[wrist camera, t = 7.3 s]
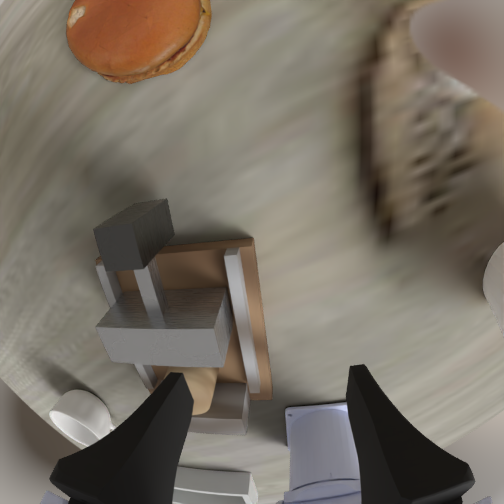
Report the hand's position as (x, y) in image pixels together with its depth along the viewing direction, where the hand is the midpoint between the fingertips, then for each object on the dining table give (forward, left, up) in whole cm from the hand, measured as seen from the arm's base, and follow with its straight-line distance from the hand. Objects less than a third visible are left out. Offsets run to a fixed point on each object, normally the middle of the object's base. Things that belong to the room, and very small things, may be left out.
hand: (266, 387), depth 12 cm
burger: (+20, +6, -11) cm, 23 cm away
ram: (+2, +7, -9) cm, 11 cm away
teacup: (-18, +24, -11) cm, 32 cm away
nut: (-7, +7, -9) cm, 13 cm away
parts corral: (-38, +14, -10) cm, 42 cm away
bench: (-4, +7, -10) cm, 13 cm away
